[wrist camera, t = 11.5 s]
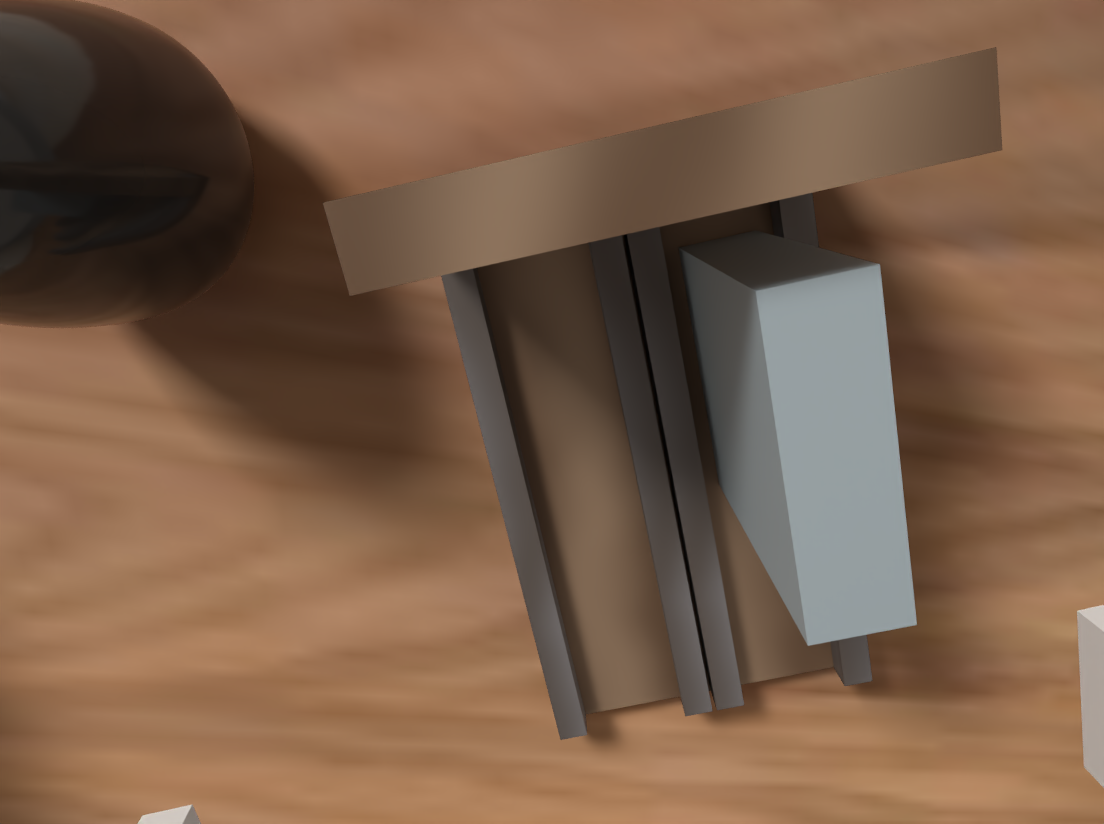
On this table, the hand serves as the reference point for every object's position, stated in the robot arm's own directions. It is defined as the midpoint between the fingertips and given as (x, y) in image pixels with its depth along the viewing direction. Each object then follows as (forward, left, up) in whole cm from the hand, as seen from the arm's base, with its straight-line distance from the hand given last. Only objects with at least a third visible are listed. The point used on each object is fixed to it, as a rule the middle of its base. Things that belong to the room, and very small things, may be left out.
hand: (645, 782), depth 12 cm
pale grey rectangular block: (+6, 0, -22) cm, 22 cm away
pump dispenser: (-14, +12, -23) cm, 30 cm away
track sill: (+3, -3, -23) cm, 23 cm away
